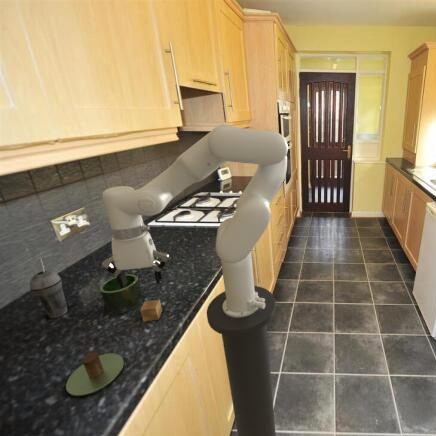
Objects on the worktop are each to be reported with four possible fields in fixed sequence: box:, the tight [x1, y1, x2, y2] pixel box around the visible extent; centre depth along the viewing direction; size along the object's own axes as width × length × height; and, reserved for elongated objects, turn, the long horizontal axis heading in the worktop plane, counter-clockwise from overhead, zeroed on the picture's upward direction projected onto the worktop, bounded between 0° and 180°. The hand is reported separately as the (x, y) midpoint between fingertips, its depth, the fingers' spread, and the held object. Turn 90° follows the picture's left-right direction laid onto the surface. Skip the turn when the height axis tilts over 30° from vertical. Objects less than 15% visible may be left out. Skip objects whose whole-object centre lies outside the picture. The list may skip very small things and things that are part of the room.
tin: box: [99, 274, 144, 315], centre depth 90 cm, size 10×10×8 cm
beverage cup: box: [29, 257, 68, 319], centre depth 84 cm, size 7×7×20 cm
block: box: [139, 299, 163, 323], centre depth 85 cm, size 4×4×4 cm
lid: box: [65, 351, 125, 397], centre depth 65 cm, size 11×11×6 cm
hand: (142, 283), depth 81 cm, fingers open, 9 cm apart
